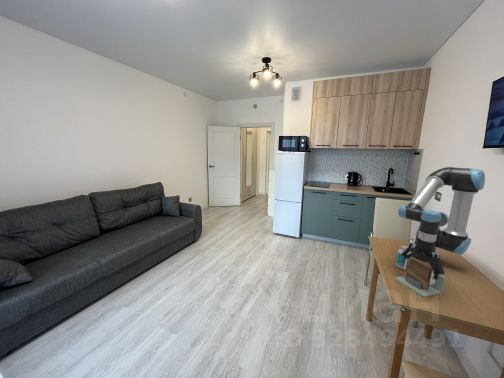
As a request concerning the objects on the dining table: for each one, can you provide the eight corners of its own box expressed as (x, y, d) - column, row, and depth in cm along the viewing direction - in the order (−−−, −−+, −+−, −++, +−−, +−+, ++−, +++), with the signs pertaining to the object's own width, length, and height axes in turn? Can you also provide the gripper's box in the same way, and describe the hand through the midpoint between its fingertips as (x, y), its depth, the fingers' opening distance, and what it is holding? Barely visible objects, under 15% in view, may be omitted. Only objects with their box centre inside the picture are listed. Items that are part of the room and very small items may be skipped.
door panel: (409, 278, 121) (413, 259, 119) (428, 289, 111) (433, 268, 109) (405, 279, 120) (409, 259, 118) (424, 290, 110) (429, 269, 108)
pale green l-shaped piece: (411, 275, 126) (414, 261, 124) (442, 293, 111) (446, 277, 109) (394, 278, 121) (397, 264, 120) (423, 297, 106) (427, 281, 105)
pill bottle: (411, 271, 131) (415, 250, 129) (398, 269, 132) (402, 249, 130) (405, 264, 138) (409, 245, 136) (393, 263, 140) (396, 244, 137)
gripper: (398, 231, 121) (391, 265, 125) (449, 251, 98) (439, 292, 102) (407, 230, 124) (401, 263, 128) (459, 249, 100) (449, 289, 104)
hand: (418, 276), depth 115 cm, fingers open, 13 cm apart
